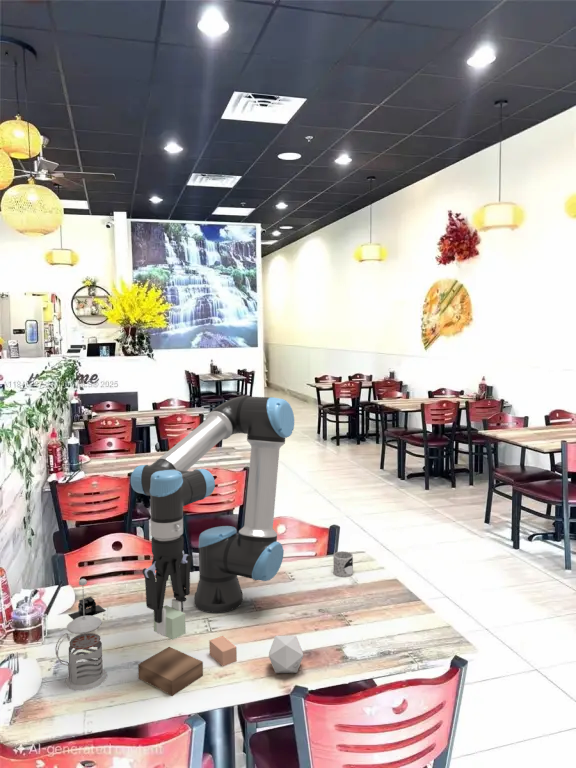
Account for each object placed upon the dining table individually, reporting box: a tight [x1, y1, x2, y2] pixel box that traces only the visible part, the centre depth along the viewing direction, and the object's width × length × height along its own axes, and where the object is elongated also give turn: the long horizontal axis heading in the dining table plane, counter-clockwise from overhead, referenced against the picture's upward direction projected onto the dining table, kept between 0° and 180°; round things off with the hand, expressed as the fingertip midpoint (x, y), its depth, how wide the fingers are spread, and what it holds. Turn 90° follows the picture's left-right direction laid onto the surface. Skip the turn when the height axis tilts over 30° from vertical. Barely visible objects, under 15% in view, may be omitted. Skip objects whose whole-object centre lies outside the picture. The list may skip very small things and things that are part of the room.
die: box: [268, 635, 304, 674], centre depth 148 cm, size 8×9×10 cm
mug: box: [333, 551, 354, 578], centre depth 209 cm, size 10×7×7 cm, turn 149°
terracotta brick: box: [208, 635, 238, 667], centre depth 154 cm, size 7×4×4 cm, turn 36°
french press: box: [54, 578, 108, 691], centre depth 144 cm, size 10×12×25 cm
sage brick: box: [152, 605, 187, 641], centre depth 144 cm, size 7×4×5 cm, turn 51°
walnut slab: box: [137, 646, 204, 697], centre depth 145 cm, size 12×10×4 cm
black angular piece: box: [67, 596, 107, 621], centre depth 179 cm, size 12×7×5 cm, turn 132°
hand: (169, 629), depth 144 cm, fingers closed on sage brick, 4 cm apart
